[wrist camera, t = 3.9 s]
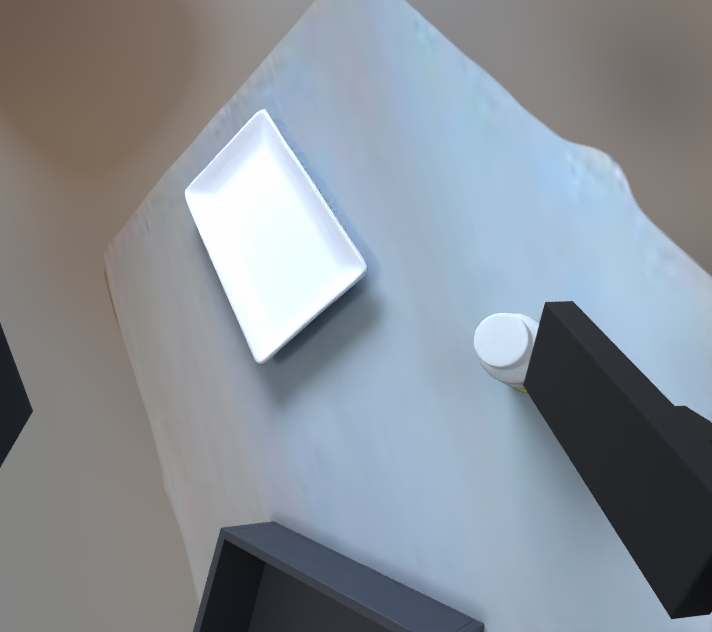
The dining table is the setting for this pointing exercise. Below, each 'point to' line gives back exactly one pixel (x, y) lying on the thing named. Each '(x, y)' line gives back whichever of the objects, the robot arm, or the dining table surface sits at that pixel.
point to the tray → (271, 237)
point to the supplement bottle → (506, 347)
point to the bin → (309, 590)
